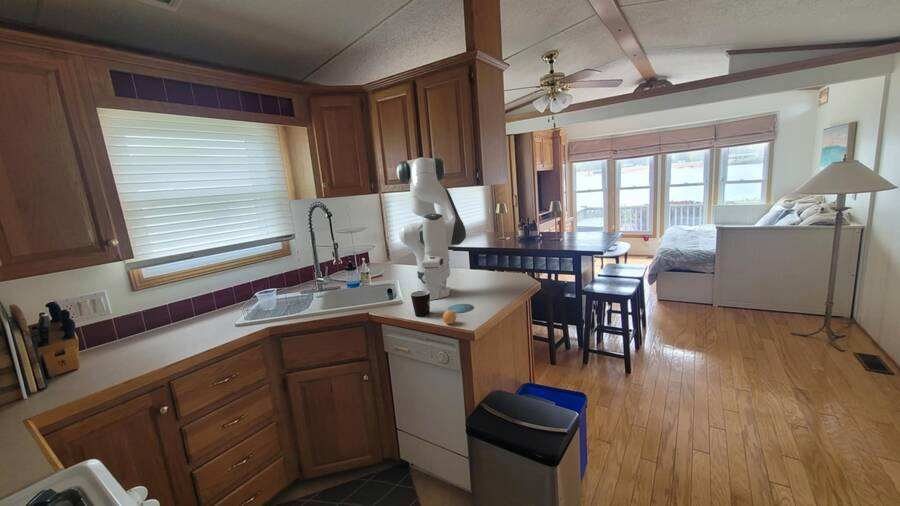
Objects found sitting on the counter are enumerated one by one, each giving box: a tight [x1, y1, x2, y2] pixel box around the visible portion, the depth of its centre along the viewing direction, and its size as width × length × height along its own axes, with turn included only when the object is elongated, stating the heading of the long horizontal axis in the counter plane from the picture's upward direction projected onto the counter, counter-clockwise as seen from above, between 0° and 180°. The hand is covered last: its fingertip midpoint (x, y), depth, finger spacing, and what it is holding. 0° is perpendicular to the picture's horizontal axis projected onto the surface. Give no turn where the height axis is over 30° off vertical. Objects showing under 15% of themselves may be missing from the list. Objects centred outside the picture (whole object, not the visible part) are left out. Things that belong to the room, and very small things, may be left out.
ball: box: [442, 310, 457, 325], centre depth 149 cm, size 6×6×6 cm
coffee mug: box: [410, 290, 431, 318], centre depth 164 cm, size 12×9×10 cm
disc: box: [446, 303, 474, 314], centre depth 167 cm, size 12×12×1 cm
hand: (440, 293), depth 138 cm, fingers open, 8 cm apart
